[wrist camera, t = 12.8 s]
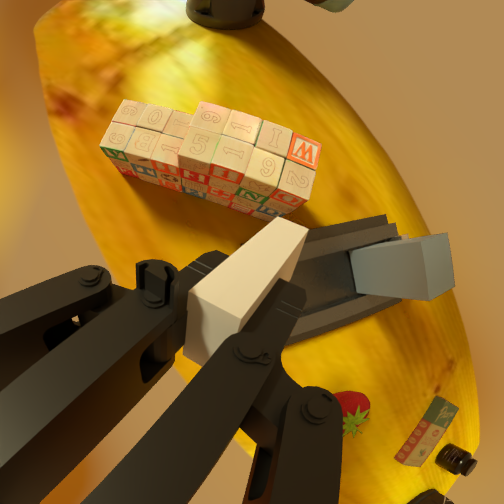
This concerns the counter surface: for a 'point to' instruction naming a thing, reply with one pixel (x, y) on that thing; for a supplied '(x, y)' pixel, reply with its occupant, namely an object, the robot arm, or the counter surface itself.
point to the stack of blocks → (214, 156)
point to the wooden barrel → (430, 498)
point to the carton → (427, 433)
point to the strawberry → (353, 410)
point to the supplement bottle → (456, 460)
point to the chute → (337, 276)
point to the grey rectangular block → (405, 268)
